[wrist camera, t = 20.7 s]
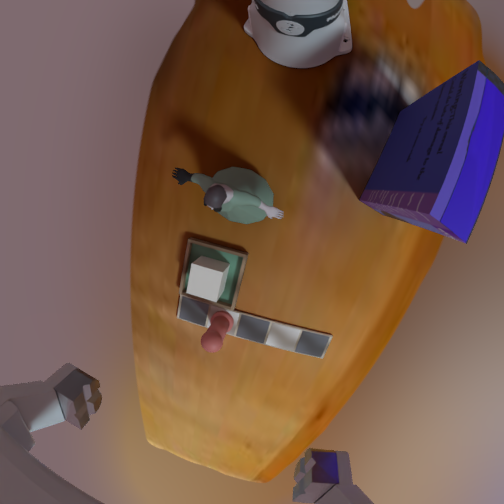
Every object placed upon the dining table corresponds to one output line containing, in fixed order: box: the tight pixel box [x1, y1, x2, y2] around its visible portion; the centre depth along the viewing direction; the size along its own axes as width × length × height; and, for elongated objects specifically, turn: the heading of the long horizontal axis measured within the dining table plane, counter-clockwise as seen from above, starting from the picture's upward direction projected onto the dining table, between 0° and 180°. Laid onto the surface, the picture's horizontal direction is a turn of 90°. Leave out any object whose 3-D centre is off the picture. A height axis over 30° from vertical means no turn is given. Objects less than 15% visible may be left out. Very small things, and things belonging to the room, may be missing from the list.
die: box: [186, 256, 230, 302], centre depth 44 cm, size 5×5×5 cm
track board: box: [177, 294, 333, 358], centre depth 48 cm, size 5×28×1 cm, turn 76°
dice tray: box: [179, 237, 249, 311], centre depth 46 cm, size 10×10×2 cm
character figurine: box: [172, 167, 283, 224], centre depth 34 cm, size 16×8×18 cm, turn 67°
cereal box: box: [359, 61, 504, 244], centre depth 27 cm, size 17×5×24 cm, turn 153°
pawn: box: [201, 311, 234, 352], centre depth 43 cm, size 4×4×9 cm
